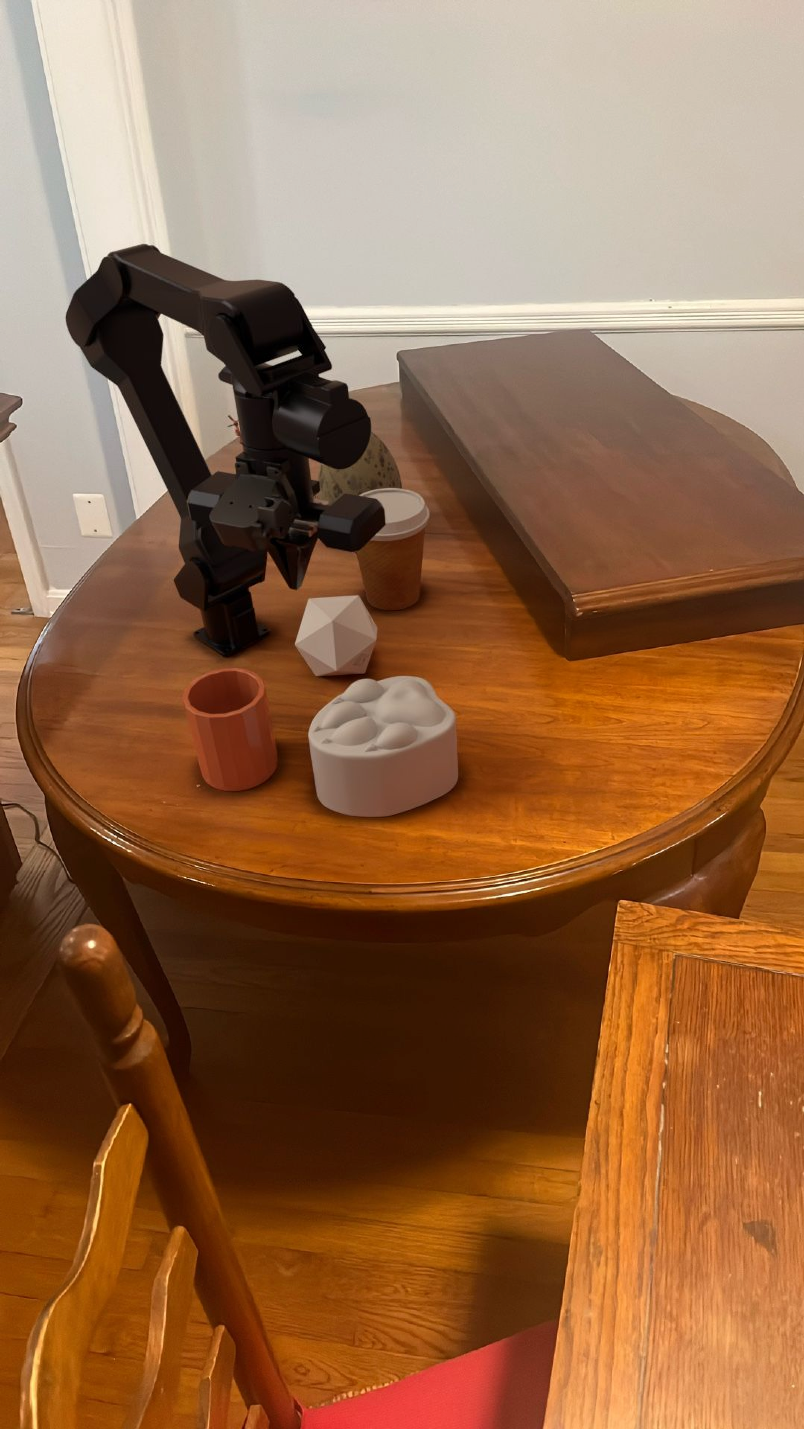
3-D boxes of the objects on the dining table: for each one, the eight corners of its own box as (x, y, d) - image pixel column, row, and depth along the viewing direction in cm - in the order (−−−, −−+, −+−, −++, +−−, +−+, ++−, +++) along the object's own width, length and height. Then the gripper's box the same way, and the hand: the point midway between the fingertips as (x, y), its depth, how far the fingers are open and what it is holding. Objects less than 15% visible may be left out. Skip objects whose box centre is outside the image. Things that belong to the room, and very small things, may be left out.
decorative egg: (307, 543, 130) (292, 434, 121) (355, 509, 137) (345, 403, 128) (373, 563, 125) (363, 450, 116) (420, 527, 132) (414, 417, 123)
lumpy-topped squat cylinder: (470, 786, 92) (468, 713, 86) (340, 835, 88) (330, 762, 83) (420, 725, 99) (416, 654, 94) (299, 767, 96) (287, 695, 90)
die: (351, 706, 104) (396, 623, 101) (273, 667, 102) (317, 582, 100) (354, 684, 112) (396, 606, 109) (283, 647, 110) (323, 568, 108)
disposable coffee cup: (447, 587, 120) (444, 496, 112) (405, 626, 114) (399, 532, 106) (381, 569, 124) (374, 480, 116) (337, 605, 118) (327, 514, 110)
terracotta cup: (186, 767, 97) (167, 693, 91) (247, 731, 100) (232, 658, 95) (231, 802, 92) (214, 728, 87) (293, 763, 96) (280, 689, 90)
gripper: (134, 459, 87) (170, 610, 97) (317, 491, 80) (337, 651, 89) (208, 412, 94) (235, 556, 104) (382, 437, 87) (393, 590, 97)
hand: (295, 587), depth 98 cm, fingers closed
